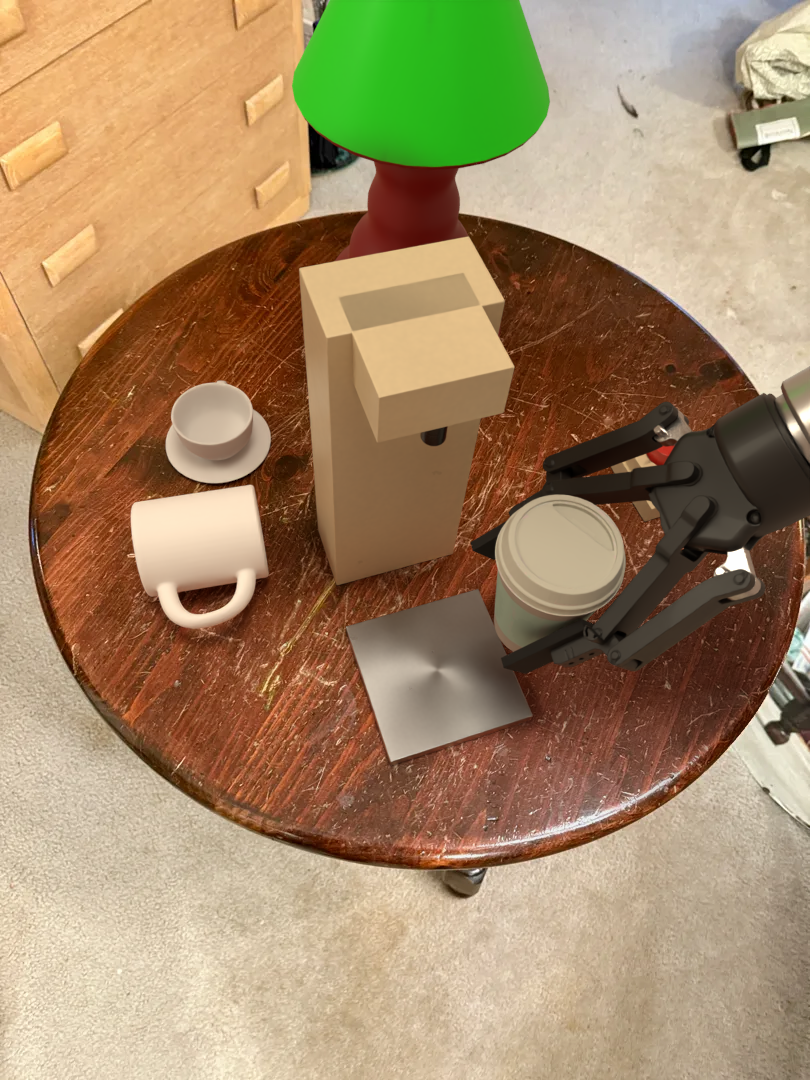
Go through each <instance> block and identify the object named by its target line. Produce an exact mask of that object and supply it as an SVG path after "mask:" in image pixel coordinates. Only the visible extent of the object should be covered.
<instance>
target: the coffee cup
mask: <svg viewBox="0 0 810 1080" xmlns="http://www.w3.org/2000/svg"><path fill="white" fill-rule="evenodd" d="M505 521H506V523H505V524H504V526H503V527H502V529H501V531H500V533H499V535H498V538H497V541H496V546H495V558H496V559H495V564H496V567H497V574H496V587H495V599H494V611H493V613H494V615H493V624H494V627H495V630H496V632H497V635H498V637H499V638H500V641H501V643H502V645H503V646H505V647H506V648H507V649H508V650H510V651H511V652H514V651H516V650H518V649H520V648H522V647H524V646H526V645H528V644H530V643H533V642H535V641H537V640H539V639H541V638H543V637H545V636H547V635H549V634H551V633H553V632H555V631H557V630H559V629H561V628H563V627H565V626H568V625H570V624H572V623H574V622H576V621H578V620H580V619H583V620H586V621H588V620H589V619H590V618H591V617H592V616H593V615H594V613H595V612H596V611H597V610H599V609H601V608H603V607H605V606H606V605H607V604H608V603H609V602H610V601H612V600H613V599H614V597H615V596H616V595H617V593H618V591H619V590H620V588H621V586H622V583H623V581H624V578H625V577H624V576H625V570H626V565H627V560H626V551H625V545H624V541H623V537H622V534H621V531H620V530H619V528H618V526H617V524H616V523H615V522H614V520H613V519H612V518H611V516H609V515H608V514H607V513H606V511H604V510H603V509H602V508H600V507H599V506H598V505H594V504H592V503H591V502H588V501H586V500H584V499H581V498H578V497H574V496H569V495H548V496H543V497H540V498H537V499H535V500H532V501H531V502H529V503H527V504H526V505H524V506H523V507H522V508H520V509H519V510H517V511H516V512H515V513H514V514H512V516H511V517H510V516H509V517H508V518H507V520H505Z"/></svg>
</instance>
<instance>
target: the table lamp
mask: <svg viewBox="0 0 810 1080" xmlns="http://www.w3.org/2000/svg"><path fill="white" fill-rule="evenodd" d="M291 87H292V93H293V98H294V103H295V104H296V105H297V107H298V109H299V111H300V114H301V115H302V117H303V119H304V120H305V121H306V122H307V123H308V124H309V126H310V127H312V129H313V130H314V131H315V132H316V133H317V134H318V135H320V136H321V137H322V138H324V139H325V140H327V141H328V142H329V143H331V145H333V146H335V147H337V148H340V149H341V150H344V151H345V152H348V153H350V154H351V155H353V156H356V157H358V158H361V159H365V160H368V161H371V162H373V164H374V168H375V173H374V177H373V178H372V181H371V183H370V186H369V189H368V192H367V201H366V202H367V203H366V204H367V212H366V213H365V214H364V215H363V216H361V218H360V220H359V221H358V222H357V223H356V225H355V226H354V228H353V231H352V233H351V236H350V240H349V245H347V246H346V247H345V248H344V249H343V250H342V251H341V252H340V253H339V254H338V256H337V257H336V258H335V260H334V261H333V262H335V261H340V260H345V259H351V258H356V257H361V256H367V255H372V254H377V253H383V252H388V251H394V250H399V249H404V248H410V247H415V246H420V245H426V244H431V243H436V242H442V241H447V240H452V239H458V238H463V237H469V234H468V232H467V230H466V228H465V227H464V225H463V224H462V222H461V221H460V220H459V214H460V209H461V197H460V192H459V188H458V184H457V181H456V178H457V174H458V171H459V169H465V168H468V167H473V166H479V165H483V164H486V163H490V162H492V161H495V160H497V159H500V158H503V157H505V156H508V155H509V154H511V153H512V152H514V151H516V150H518V149H519V148H521V147H523V146H524V145H525V144H526V143H527V142H528V141H529V140H530V139H532V137H534V136H535V134H537V132H538V131H539V130H540V128H541V126H542V125H543V123H544V121H545V120H546V118H548V117H547V116H548V112H549V108H550V104H551V100H550V91H549V85H548V82H547V79H546V77H545V74H544V71H543V68H542V64H541V61H540V58H539V55H538V53H537V49H536V47H535V43H534V40H533V37H532V34H531V31H530V29H529V25H528V21H527V19H526V16H525V13H524V10H523V7H522V3H521V0H328V3H327V5H326V6H325V8H324V11H323V13H322V14H321V16H320V19H319V21H318V23H317V25H316V27H315V29H314V31H313V33H312V35H311V37H310V39H309V41H308V42H307V45H306V47H305V49H304V50H303V53H302V55H301V58H300V59H299V61H298V63H297V65H296V67H295V69H294V71H293V77H292V82H291ZM498 337H499V338H500V337H501V327H500V328H499V333H498Z"/></svg>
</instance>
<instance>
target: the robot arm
mask: <svg viewBox="0 0 810 1080" xmlns="http://www.w3.org/2000/svg"><path fill="white" fill-rule="evenodd" d="M780 390H781V394H780V395H778V396H777V397H776V396H775V395H774V394H772V393H766V392H762V393H760V394H759V395H757V396H756V397H754V398H752V399H750V400H749V401H747V402H745V403H743V404H742V405H740V406H738V407H736V408H735V409H733V410H732V411H729V412H727V413H726V414H724V415H722V416H721V417H719V418H717V420H716V421H715V423H714V424H713V425H712V426H710V427H708V428H705V429H702V430H694V431H693V430H692V428H691V427H690V426H689V425H690V419H689V418H688V417H687V416H686V415H685V414H684V413H683V412H681V411H680V409H678V408H677V407H676V406H675V405H674V404H673V403H671V401H662V402H661V403H659V404H658V405H657V406H656V407H654V408H653V409H652V410H650V411H649V412H648V413H647V414H646V415H644V416H643V417H641V418H640V419H639V420H637V421H634V422H631V423H629V424H626V425H624V426H622V427H619V428H616V429H614V430H611V431H609V432H606V433H604V434H601V435H598V436H596V437H594V438H591V439H588V440H586V441H584V442H583V441H582V442H581V443H578V444H576V445H573V446H571V447H568V448H566V449H563V450H560V451H558V452H555V453H552V454H551V455H548V456H547V457H545V458H544V460H543V462H542V469H543V471H544V472H545V483H544V485H543V486H542V488H541V489H540V490H538V491H537V492H535V493H534V494H531V495H530V496H528V497H526V498H525V499H523V500H522V501H520V502H518V503H517V504H515V505H513V506H512V507H511V509H509V511H508V516H509V518H510V517H511V516H512V514H514V513H515V512H516V511H517V510H519V509H520V508H522V507H523V506H524V505H526V504H527V503H529V502H531V501H532V500H535V499H537V498H540V497H543V496H548V495H569V496H574V497H578V498H581V499H584V500H586V501H588V502H591V503H592V504H594V505H596V506H599V505H611V504H623V503H633V502H635V501H651V502H652V504H653V505H654V507H655V508H656V509H657V510H658V511H659V513H660V517H659V520H660V526H661V530H662V532H663V534H664V535H663V536H662V537H661V539H660V540H659V541H658V542H657V543H656V545H655V549H654V550H655V551H654V553H653V554H652V556H651V557H650V558H649V559H648V560H647V562H646V563H645V564H644V565H643V566H642V568H641V569H640V570H639V571H638V572H637V574H635V576H634V577H633V578H632V579H631V580H630V582H629V583H628V584H627V585H626V586H625V588H624V589H623V590H622V591H621V592H620V593H619V594H618V595H617V597H616V598H615V599H614V600H613V602H612V603H610V605H609V607H608V608H607V609H606V610H605V611H604V612H603V613H602V615H600V617H599V618H598V619H597V620H596V622H595V623H593V622H590V621H588V620H587V621H586V620H583V619H580V620H578V621H576V622H574V623H572V624H570V625H568V626H565V627H563V628H561V629H559V630H557V631H555V632H553V633H551V634H549V635H547V636H545V637H543V638H541V639H539V640H537V641H535V642H533V643H530V644H528V645H526V646H524V647H522V648H520V649H518V650H516V651H514V652H513V651H511V652H510V653H508V654H506V656H504V657H502V658H501V660H502V664H503V668H505V669H509V670H512V671H514V672H515V673H516V672H517V673H520V674H524V675H528V674H530V673H532V672H534V671H537V670H538V669H540V668H542V667H545V666H547V665H549V664H551V663H553V664H554V665H556V666H560V667H562V668H574V667H576V666H578V665H580V664H583V663H585V662H586V661H589V660H591V659H593V658H596V657H598V656H600V655H602V654H605V656H606V659H607V662H608V664H610V665H612V666H614V667H617V668H620V669H623V670H626V671H629V672H633V673H634V672H638V671H639V670H641V669H642V668H644V667H646V666H647V665H648V664H650V663H651V662H652V661H653V660H655V659H657V658H658V657H659V656H661V655H662V654H663V653H665V652H666V651H669V650H670V649H671V648H672V647H674V646H675V645H676V644H678V643H680V642H681V641H683V640H684V639H685V638H687V637H688V636H689V635H691V634H692V633H694V632H695V631H697V630H698V629H699V628H701V627H702V626H703V625H705V624H707V623H708V622H710V621H711V620H712V619H714V618H715V617H716V616H718V615H720V614H721V613H722V612H724V611H725V610H727V609H728V608H729V607H732V606H736V605H739V604H743V603H746V602H750V601H753V600H756V599H759V598H761V597H762V596H763V595H765V592H766V584H765V583H764V581H763V580H761V579H760V578H759V577H758V576H757V574H756V571H755V567H754V563H753V560H752V555H751V553H750V552H751V551H752V550H753V549H754V548H755V546H756V545H757V544H758V543H759V541H760V540H762V538H764V537H765V536H767V535H769V534H772V533H775V532H777V531H780V530H782V529H784V528H787V527H789V526H791V525H793V524H795V523H797V522H799V521H801V520H804V519H805V518H807V517H810V366H808V367H805V368H804V369H802V370H801V371H799V372H796V373H795V374H793V375H792V376H790V377H788V378H786V379H785V380H782V382H781V386H780ZM674 445H675V446H674ZM662 446H665V447H668V446H674V448H673V449H672V451H671V453H670V454H669V456H668V458H667V459H666V461H665V463H664V464H663V465H657V466H649V467H640V468H634V469H633V470H632V471H631V472H623V473H614V472H613V473H607V474H597V475H593V474H595V473H598V472H600V471H603V470H605V469H609V468H611V466H614V465H617V464H619V463H622V462H625V461H628V460H630V459H633V458H636V457H639V456H641V455H644V454H647V453H649V452H652V451H654V450H657V449H659V448H661V447H662ZM506 521H507V520H505V521H504V522H502V523H500V524H499V525H497V526H495V527H494V528H492V529H490V530H489V531H487V532H485V533H483V534H481V535H480V536H478V537H476V538H475V539H473V540H472V541H470V546H471V550H472V552H474V553H477V554H478V555H481V556H483V557H485V558H488V559H490V560H493V561H496V558H495V546H496V541H497V538H498V535H499V533H500V531H501V529H502V527H503V526H504V524H505V523H506ZM709 553H711V554H717V555H723V556H724V555H725V556H726V560H725V561H724V562H723V564H721V565H718V566H717V567H716V568H715V569H714V573H713V577H710V578H708V579H706V580H704V581H702V582H700V583H698V584H697V585H696V586H694V587H693V588H691V589H690V590H688V591H687V592H686V593H684V594H683V595H682V596H680V597H679V598H677V599H676V600H674V601H673V602H672V603H670V605H668V606H667V607H665V608H664V609H662V610H661V611H659V612H658V613H657V614H655V615H654V616H653V617H651V618H650V619H649V620H647V619H648V618H649V617H650V615H651V614H652V613H653V612H654V610H655V609H656V608H657V607H658V606H659V605H660V604H661V603H662V602H663V600H664V599H665V598H666V597H667V596H668V595H669V593H670V592H671V591H672V590H673V589H674V588H675V586H676V585H677V584H678V583H679V582H680V581H681V579H682V578H683V577H684V576H685V575H686V574H689V573H692V572H693V571H694V570H695V569H696V568H698V566H699V564H701V562H702V561H703V560H704V559H705V558H706V557H707V555H708V554H709ZM646 620H647V621H646ZM645 621H646V622H645Z"/></svg>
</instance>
